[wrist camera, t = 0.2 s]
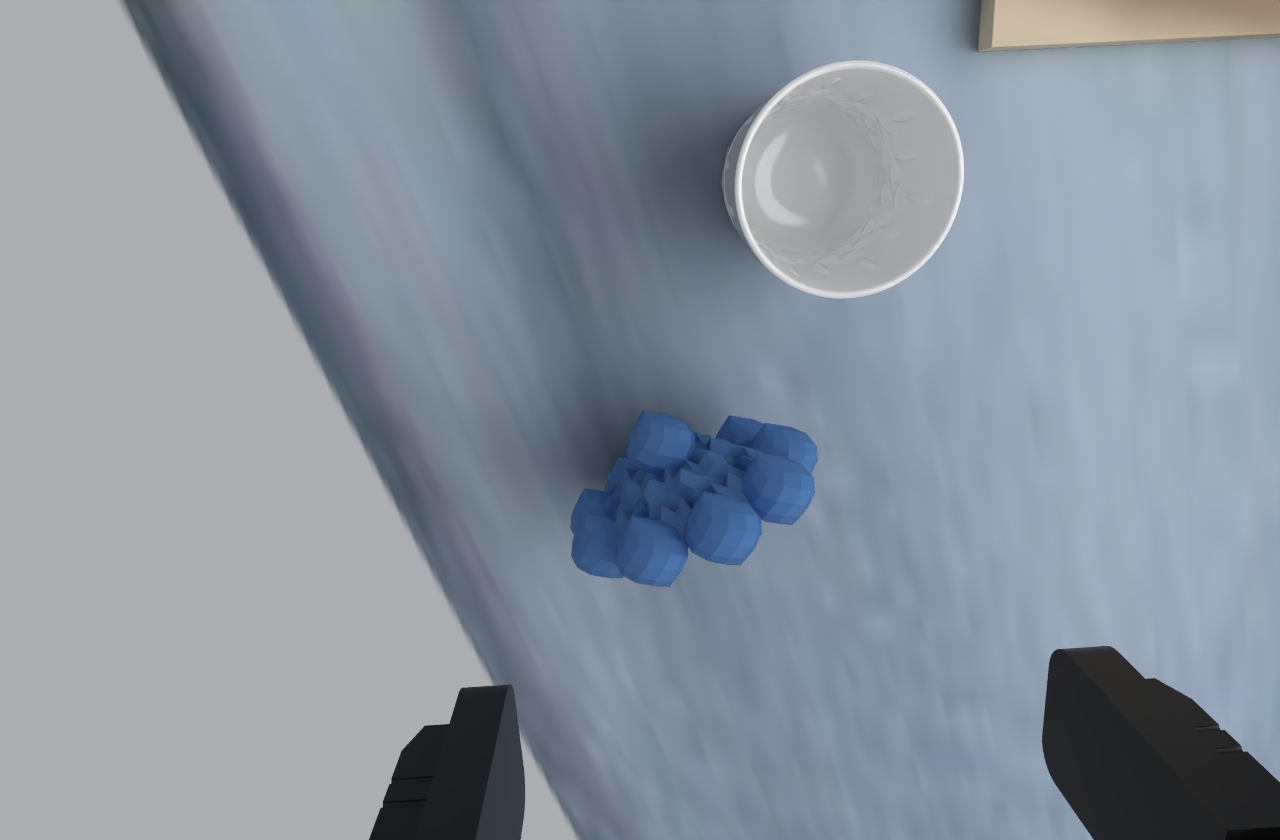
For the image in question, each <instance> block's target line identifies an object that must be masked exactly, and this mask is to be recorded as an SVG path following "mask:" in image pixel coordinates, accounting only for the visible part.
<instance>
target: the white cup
mask: <svg viewBox="0 0 1280 840" xmlns="http://www.w3.org/2000/svg"><path fill="white" fill-rule="evenodd" d="M963 182H964V159H963V151H962V146H961V142H960V138H959V135H958V132H957V129H956V126H955V124H954V122H953V120H952V118H951V116H950V114H949V112H948V110H947V109H946V107H945V106H944V104H943V103H942V102H941V100H940V99H939V98H938V97H937V95H936V94H935V93H934V92H933V91H932V90H931V89H930V88H929V87H928V86H926V85H925V84H924V83H923V82H922V81H920V80H919V79H917V78H916V77H914V76H913V75H911V74H909V73H908V72H906V71H904V70H902V69H899V68H897V67H894V66H891V65H888V64H885V63H880V62H875V61H867V60H848V61H840V62H834V63H830V64H826V65H823V66H820V67H817V68H815V69H812V70H810V71H808V72H806V73H804V74H802V75H800V76H798V77H797V78H795V79H794V80H792V81H791V82H789V83H788V84H786V85H785V86H784V87H783V88H781V89H780V90H779V91H778V92H777V93H776V94H774V95H773V96H772V97H770V98H769V99H768V100H767V101H765V102H764V103H763V104H762V105H761V106H760V107H759V108H758V109H757V110H756V111H755V112H754V113H753V114H752V115H751V116H750V117H749V118H748V119H747V120H746V121H745V123H744V124H743V125H742V126H741V128H740V129H739V131H738V132H737V134H736V136H735V138H734V140H733V141H732V143H731V144H730V146H729V147H728V149H727V153H726V158H725V163H724V168H723V174H722V179H721V187H722V191H723V195H724V200H725V205H726V208H727V211H728V215H729V217H730V219H731V221H732V223H733V225H734V227H735V228H736V230H737V232H738V233H739V235H740V237H741V238H742V239H743V241H744V242H745V243H746V244H747V245H748V247H749V248H750V249H751V250H752V252H753V253H754V254H755V255H756V256H757V258H758V259H759V260H760V261H761V263H762V264H763V265H764V266H765V267H766V268H767V269H768V270H769V271H770V272H771V273H773V274H774V275H775V276H776V277H778V278H779V279H780V280H782V281H783V282H785V283H786V284H788V285H790V286H792V287H794V288H796V289H798V290H800V291H803V292H805V293H808V294H812V295H815V296H820V297H826V298H838V299H845V298H856V297H862V296H867V295H871V294H874V293H877V292H880V291H883V290H885V289H888V288H890V287H892V286H894V285H896V284H898V283H899V282H901V281H903V280H904V279H906V278H907V277H909V276H910V275H912V274H913V273H914V272H915V271H917V270H918V269H919V268H920V267H921V266H922V265H923V264H924V263H925V262H926V261H927V260H928V259H929V258H930V257H931V256H932V255H933V254H934V253H935V251H936V250H937V249H938V247H939V246H940V245H941V243H942V242H943V240H944V239H945V237H946V235H947V233H948V232H949V230H950V228H951V226H952V224H953V221H954V219H955V216H956V214H957V211H958V208H959V204H960V200H961V196H962V190H963Z"/></svg>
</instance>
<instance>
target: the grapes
mask: <svg viewBox="0 0 1280 840" xmlns="http://www.w3.org/2000/svg"><path fill="white" fill-rule="evenodd" d="M627 457H628V458H625V457H618V459H617V461H616V462H615V464H614V465H613V467H612V469H611V471H610V474H609V476H608V478H607V481H606V486H605V491H600V490H593V489H584V491H583V492H582V494H581V495H580V497H579V499H578V501H577V503H576V505H575V507H574V510H573V513H572V517H571V528H570V529H571V530H572V532H573V534H574V538H573V542H572V552H571V556H572V558H573V560H574V562H575V564H576V566H577V567H578V568H579V569H581V570H583V571H585V572H586V573H588V574H590V575H595V576H601V577H607V578H623V577H624V576H625V577H626V578H628V579H630V580H632V581H634V582H635V583H640V584H645V585H651V586H657V587H670V585H671V584H672V583H673V582H674V580H675V579H676V578H677V576H678V575H679V574H680V572H681V571H682V568H683V566H684V564H685V562H686V560H687V558H688V547H689V548H690V550H691V552H692V553H694V554H696V555H698V556H700V557H702V558H704V559H706V560H707V561H710V562H715V563H721V564H727V565H741V564H742V563H743V562H744V561H745V560H746V558H747V557H748V556H749V555H750V554H751V552H752V551H753V550H754V549H755V547H756V544H757V542H758V540H759V538H760V536H761V534H762V532H761V520H763V521H766V522H772V523H778V524H787V525H793V524H794V523H795V522H796V521H797V520H798V519H799V517H800V516H801V515H802V514H803V513H804V512H805V510H806V509H807V508H808V506H809V504H810V502H811V500H812V498H813V496H814V493H815V491H814V478H813V477H812V475H811V473H812V471H813V469H814V467H815V464H816V462H817V446H816V445H815V443H814V442H813V441H812V440H811V439H810V438H809V436H808V435H807V434H806V433H804V432H801V431H799V430H797V429H794V428H792V427H787V426H781V425H775V424H769V423H765V424H763V423H761V422H758V421H756V420H753V419H748V418H742V417H736V416H729V417H728V418H727V419H726V421H725V422H724V424H723V425H722V427H721V428H720V430H719V432H718V434H717V436H716V438H712V437H711V436H708V435H702V434H698V433H694V432H693V431H692V430H691V429H690V427H689V426H688V425H687V424H686V423H685V422H684V421H682V420H679V419H677V418H675V417H672V416H670V415H665V414H659V413H653V412H646V411H643V412H642V414H641V415H640V417H639V419H638V420H637V422H636V424H635V426H634V428H633V430H632V433H631V435H630V437H629V440H628V444H627Z"/></svg>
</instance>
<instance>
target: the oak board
mask: <svg viewBox="0 0 1280 840" xmlns="http://www.w3.org/2000/svg"><path fill="white" fill-rule="evenodd" d="M1271 37H1280V0H981V10H980V25H979V41H978V52H982V51H1002V50H1023V49H1044V48H1064V47H1085V46H1105V45H1126V44H1147V43H1167V42H1188V41H1209V40H1229V39H1250V38H1271Z"/></svg>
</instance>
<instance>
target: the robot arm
mask: <svg viewBox="0 0 1280 840" xmlns="http://www.w3.org/2000/svg"><path fill="white" fill-rule="evenodd" d="M1042 744H1043V752H1044V757H1045V761H1046V765H1047V768H1048V770H1049V773H1050V775H1051V777H1052V779H1053V781H1054V783H1055V784H1056V786H1057V787H1058V789H1059V790H1060V792H1061V793H1062V794H1063V796H1064V797H1065V799H1066V800H1067V802H1068V803H1069V805H1070V806H1071V807H1072V809H1073V810H1074V812H1075V813H1076V815H1077V816H1078V818H1079V819H1080V820H1081V822H1082V823H1083V825H1084V826H1085V828H1086V829H1087V831H1088V832H1089V833H1090V835H1091V836H1092V838H1093V839H1094V840H1280V782H1279V781H1278V780H1277V779H1276V778H1274V777H1273V776H1272V775H1271V774H1270V773H1269V772H1268V771H1267V770H1266V769H1265V768H1264V767H1263V766H1262V765H1261V764H1260V763H1259V762H1258V761H1257V760H1256V759H1254V758H1253V757H1252V756H1251V755H1250V754H1249V753H1248V752H1243V751H1242V748H1241V745H1240V744H1239V743H1238V742H1237V741H1236V740H1234V739H1233V738H1232V737H1231V736H1230V735H1229V734H1228V733H1227V732H1226V731H1225V730H1220V728H1219V724H1218V723H1217V722H1216V721H1214V720H1213V719H1212V718H1211V717H1210V716H1209V715H1208V714H1207V713H1206V712H1205V711H1204V710H1203V709H1202V708H1201V707H1200V706H1199V705H1198V704H1197V703H1195V702H1194V701H1193V700H1192V699H1191V698H1189V697H1187V696H1185V695H1184V694H1182V693H1180V692H1178V691H1176V690H1175V689H1173V688H1171V687H1169V686H1168V685H1166V684H1164V683H1162V682H1160V681H1159V680H1157V679H1155V678H1152V679H1145V678H1144V677H1143V676H1142V675H1141V674H1140V673H1139V672H1138V671H1137V670H1136V669H1135V668H1134V667H1133V666H1132V665H1131V664H1130V663H1129V662H1128V661H1127V660H1126V659H1125V658H1124V657H1123V656H1122V655H1121V654H1120V653H1119V652H1118V651H1117V650H1115V649H1114V648H1112V647H1110V646H1100V647H1085V648H1070V649H1057V650H1055V651H1054V652H1053V653H1052V655H1051V658H1050V662H1049V671H1048V681H1047V692H1046V702H1045V713H1044V723H1043V734H1042ZM524 809H525V777H524V766H523V759H522V750H521V743H520V734H519V727H518V719H517V711H516V703H515V695H514V691H513V687H512V685H498V686H483V687H469V688H461V690H460V691H459V694H458V698H457V701H456V704H455V708H454V711H453V714H452V717H451V721H450V724H444V725H429V726H424V727H423V729H422V730H421V731H420V732H419V733H418V734H417V735H416V736H415V737H414V738H413V739H412V740H411V741H410V742H409V744H408V745H407V746H406V747H405V748H404V749H403V750H402V752H401V754H400V757H399V760H398V762H397V765H396V768H395V771H394V773H393V776H392V783H391V784H390V785H389V787H388V790H387V792H386V795H385V798H384V800H383V808H381V809H380V811H379V814H378V817H377V819H376V822H375V825H374V828H373V830H372V833H371V836H370V838H369V840H520V839H521V832H522V825H523V819H524Z"/></svg>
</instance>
